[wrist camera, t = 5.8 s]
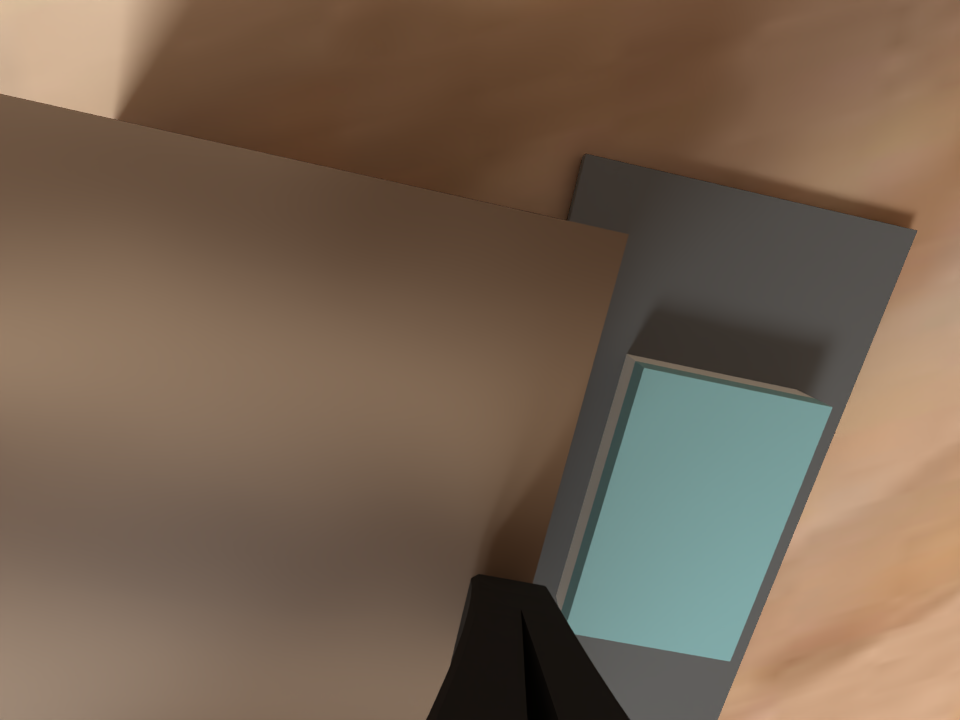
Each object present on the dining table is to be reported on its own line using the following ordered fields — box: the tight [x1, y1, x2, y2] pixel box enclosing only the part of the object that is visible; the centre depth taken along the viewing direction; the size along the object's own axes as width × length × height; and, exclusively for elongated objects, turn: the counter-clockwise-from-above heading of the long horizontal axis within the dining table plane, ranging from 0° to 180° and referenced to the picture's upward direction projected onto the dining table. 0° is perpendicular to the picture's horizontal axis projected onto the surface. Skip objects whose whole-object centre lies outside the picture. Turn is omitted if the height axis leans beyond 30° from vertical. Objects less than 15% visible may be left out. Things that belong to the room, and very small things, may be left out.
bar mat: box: [533, 154, 917, 720], centre depth 15 cm, size 18×9×1 cm, turn 168°
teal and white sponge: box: [556, 354, 833, 661], centre depth 14 cm, size 8×5×2 cm, turn 168°
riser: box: [0, 94, 629, 720], centre depth 12 cm, size 14×12×6 cm
